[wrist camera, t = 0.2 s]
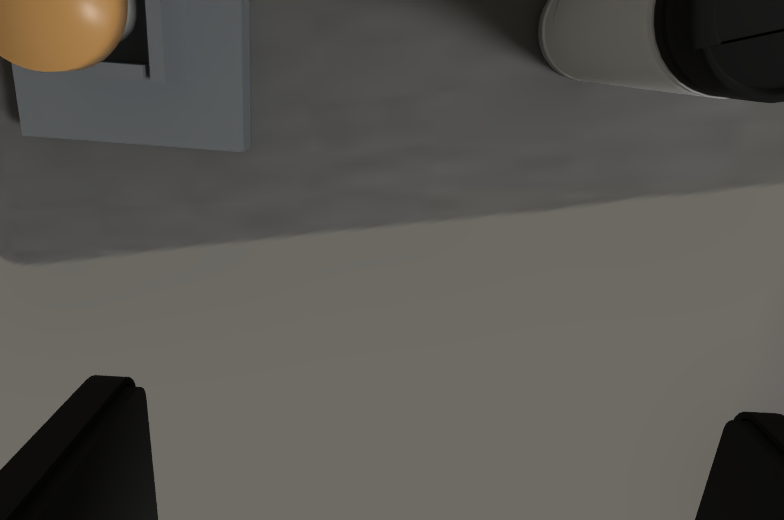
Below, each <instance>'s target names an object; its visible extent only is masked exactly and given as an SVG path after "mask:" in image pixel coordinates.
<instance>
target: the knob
mask: <svg viewBox="0 0 784 520" xmlns="http://www.w3.org/2000/svg"><path fill="white" fill-rule="evenodd" d="M137 17H138V1H137V0H0V56H1V57H3V58H4V59H6V60H8V61H10V62H11V63H13V64H16V65H18V66H21V67H23V68H27V69H30V70H35V71H42V72H58V71H75V70H82V69H86V68H89V67H92V66H94V65H96V64H98V63H100V62H101V61H103V60H104V59H105V58H107V57H108V56H109V55H110V54H111V53H112V52H113V50H114V49H115V48H116V47H117V45H118V43H120V42H121V41H123V40H124V39H126V38H127V37H128V36H129V35H130V33H131V32H132V31H133V29H134V27H135V24H136V22H137Z"/></svg>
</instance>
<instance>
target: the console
mask: <svg viewBox="0 0 784 520" xmlns="http://www.w3.org/2000/svg"><path fill="white" fill-rule="evenodd" d="M137 1H138V17H137V22H136V24H135V27H134V29H133V31H132V32H131V33H130V35H129V36H128V37H127V38H126V39H124V40H123V41H121V42H120V43H118V45H117V47H116V48H115V49H114V50H113V52H112V53H111V54H110V55H109V56H108V57H107V58H105V59H104V60H103V61H101V62H100V63H98V64H96V65H94V66H92V67H89V68H86V69H82V70H75V71H58V72H42V71H35V70H30V69H27V68H23V67H21V66H18V65H16V64H13V63H12V70H13V77H14V83H15V90H16V97H17V104H18V111H19V117H20V124H21V131H22V136H36V137H49V138H62V139H75V140H89V141H102V142H115V143H129V144H142V145H155V146H168V147H182V148H195V149H208V150H222V151H235V152H244V151H246V150H248V149H249V148H251V116H250V22H249V0H137Z"/></svg>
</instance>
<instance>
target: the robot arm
mask: <svg viewBox="0 0 784 520" xmlns="http://www.w3.org/2000/svg"><path fill="white" fill-rule="evenodd" d="M0 520H158V514H157V503H156V493H155V483H154V472H153V463H152V452H151V442H150V432H149V421H148V412H147V400H146V394H145V390H144V389H143V388H142V387H136V386H135V383H134V381H133V380H132V379H131V378H130V377H116V376H100V375H99V376H98V375H94V376H91V377H89V378H88V379H87V380H86V381H85V382H84V383H83V384H82V385H81V386H80V387H79V388H78V389H77V390H76V391H75V392H74V393H73V394H72V396H71V397H70V398H69V399H68V400H67V401H66V402H65V403H64V404H63V405H62V406H61V407H60V408H59V409H58V410H57V411H56V412H55V413H54V414H53V416H52V417H51V418H50V419H49V420H48V421H47V422H46V423H45V424H44V425H43V426H42V427H41V428H40V429H39V430H38V431H37V432H36V433H35V434H34V435H33V436H32V437H31V439H30V440H29V441H28V442H27V443H26V444H25V445H24V446H23V447H22V448H21V449H20V450H19V451H18V452H17V453H16V454H15V455H14V456H13V457H12V458H11V460H10V461H9V462H8V463H7V464H6V465H5V466H4V467H3V468H2V469H1V470H0ZM695 520H784V416H783V415H781V414H776V413H758V412H742V413H739V414H738V415H737V416H736V417H735V418H734V420H731V421H729V422H728V423H726V425H725V427H724V430H723V433H722V436H721V439H720V442H719V445H718V448H717V452H716V455H715V458H714V461H713V464H712V467H711V471H710V474H709V477H708V480H707V483H706V487H705V490H704V493H703V496H702V500H701V502H700V506H699V509H698V512H697V515H696V518H695Z"/></svg>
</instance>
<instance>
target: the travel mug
mask: <svg viewBox="0 0 784 520" xmlns="http://www.w3.org/2000/svg"><path fill="white" fill-rule="evenodd" d="M538 40H539V45H540V49H541V52H542V54H543V57H544V58H545V60H546V61H547V63H548V64H549V66H550V67H551V68H553V69H554V70H555V71H556V72H557V73H559V74H560V75H562V76H564V77H567V78H570V79H573V80H580V81H588V82H595V83H603V84H611V85H618V86H626V87H634V88H641V89H649V90H657V91H664V92H672V93H680V94H687V95H695V96H703V97H711V98H721V99H727V98H731V99H739V100H747V101H756V102H765V103H776V102H784V0H547V2H546V4H545V6H544V8H543V10H542V13H541V16H540V20H539V26H538Z"/></svg>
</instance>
